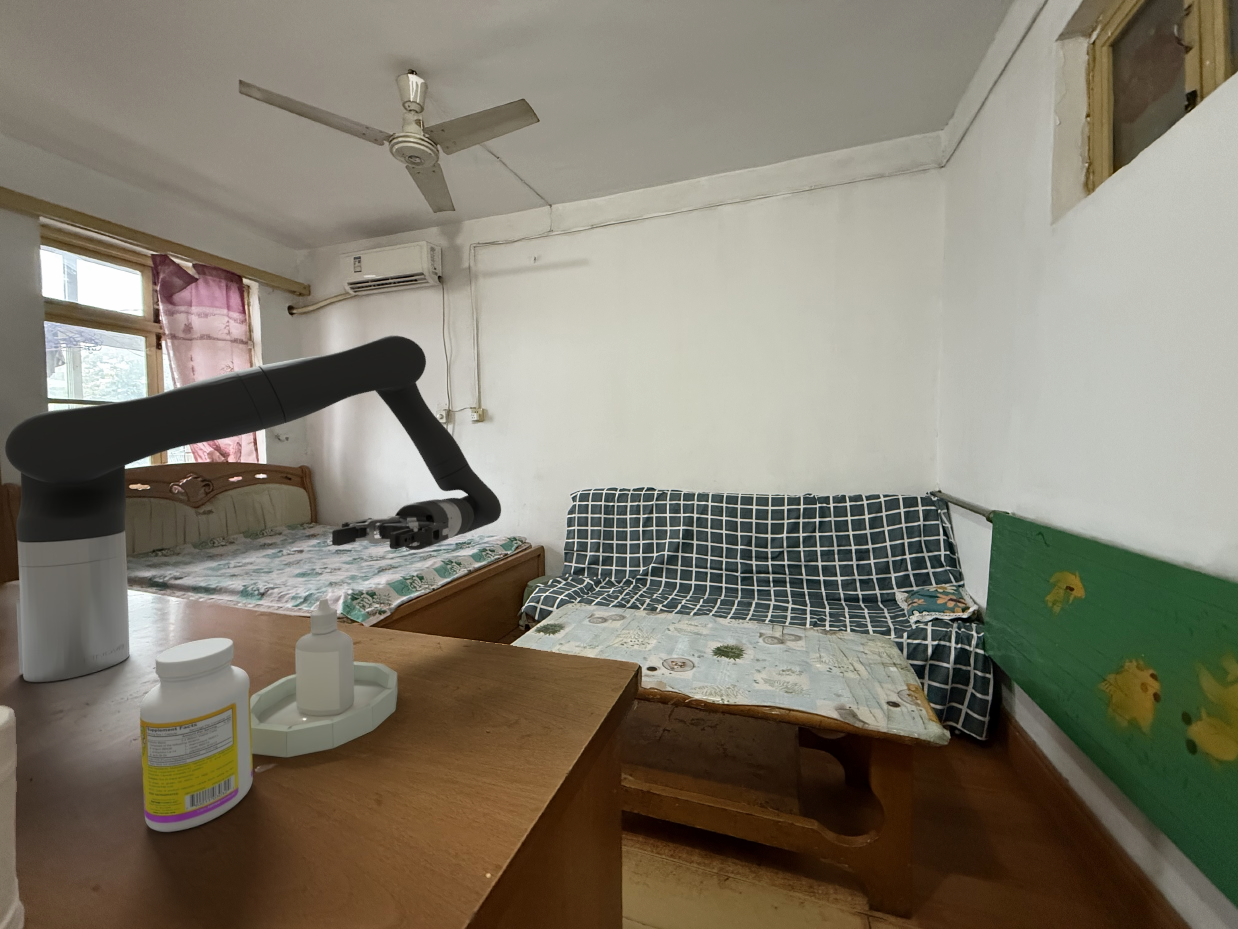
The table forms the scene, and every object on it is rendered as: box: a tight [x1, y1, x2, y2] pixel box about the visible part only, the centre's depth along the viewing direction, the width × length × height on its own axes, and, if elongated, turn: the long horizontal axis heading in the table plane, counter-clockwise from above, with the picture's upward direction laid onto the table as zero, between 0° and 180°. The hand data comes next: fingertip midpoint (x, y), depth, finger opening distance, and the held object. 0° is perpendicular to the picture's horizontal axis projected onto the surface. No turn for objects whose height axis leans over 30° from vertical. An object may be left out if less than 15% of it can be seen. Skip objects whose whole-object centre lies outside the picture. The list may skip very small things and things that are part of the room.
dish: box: [250, 660, 398, 758], centre depth 52 cm, size 14×14×2 cm
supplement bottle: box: [139, 637, 254, 833], centre depth 39 cm, size 7×7×13 cm
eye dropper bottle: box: [294, 597, 355, 716], centre depth 52 cm, size 4×6×12 cm
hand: (363, 539), depth 64 cm, fingers open, 8 cm apart
